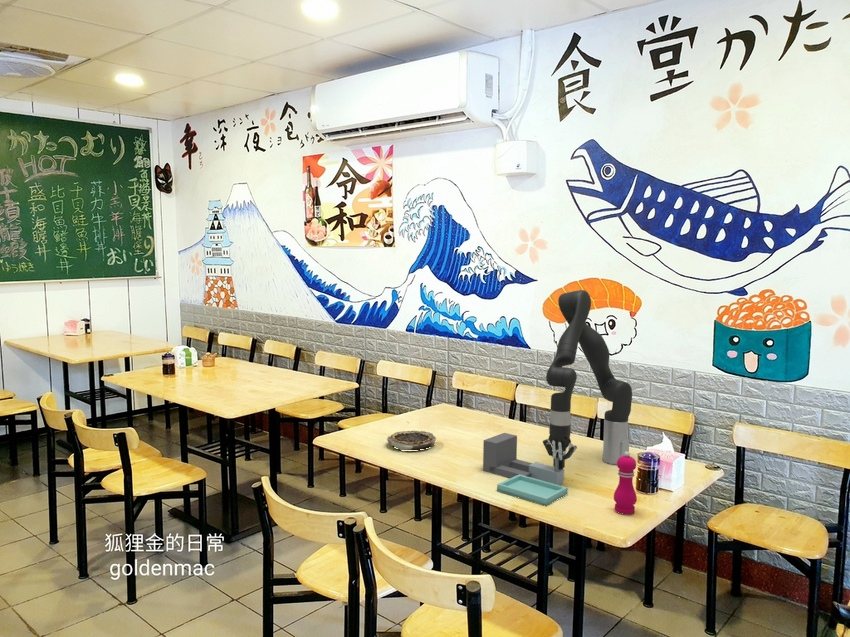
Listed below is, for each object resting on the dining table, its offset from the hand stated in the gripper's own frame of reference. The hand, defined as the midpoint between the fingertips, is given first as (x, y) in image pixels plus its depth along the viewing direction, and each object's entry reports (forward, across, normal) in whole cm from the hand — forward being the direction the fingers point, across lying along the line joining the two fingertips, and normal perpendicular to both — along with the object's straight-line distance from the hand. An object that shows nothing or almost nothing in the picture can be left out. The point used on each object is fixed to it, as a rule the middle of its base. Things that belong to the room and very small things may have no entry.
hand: (558, 468), depth 239 cm
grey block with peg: (+6, +5, 0) cm, 8 cm away
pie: (+7, +71, +3) cm, 71 cm away
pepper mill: (+6, -29, +7) cm, 30 cm away
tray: (+6, +2, +14) cm, 15 cm away
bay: (+6, +19, 0) cm, 20 cm away
